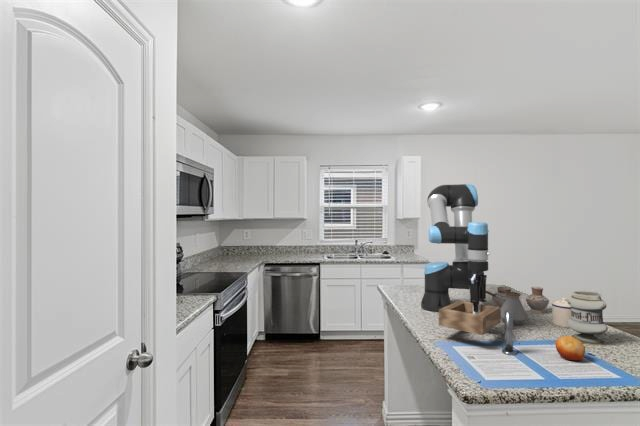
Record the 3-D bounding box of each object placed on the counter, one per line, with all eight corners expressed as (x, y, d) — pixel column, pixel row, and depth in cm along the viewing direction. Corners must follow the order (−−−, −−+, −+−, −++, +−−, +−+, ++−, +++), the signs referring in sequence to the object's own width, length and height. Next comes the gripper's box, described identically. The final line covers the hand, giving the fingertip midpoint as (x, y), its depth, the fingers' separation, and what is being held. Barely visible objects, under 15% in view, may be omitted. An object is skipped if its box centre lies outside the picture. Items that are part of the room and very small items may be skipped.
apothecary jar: (560, 334, 138) (560, 289, 138) (591, 335, 138) (591, 289, 138) (582, 346, 126) (581, 296, 126) (616, 346, 126) (616, 296, 126)
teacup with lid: (580, 329, 145) (579, 301, 145) (554, 326, 148) (553, 299, 148) (572, 321, 156) (572, 295, 156) (548, 319, 159) (548, 293, 159)
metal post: (500, 352, 120) (499, 312, 120) (504, 349, 123) (503, 309, 123) (514, 356, 117) (514, 314, 117) (517, 352, 120) (517, 311, 120)
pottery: (551, 316, 165) (551, 290, 165) (493, 310, 174) (492, 286, 174) (546, 310, 175) (546, 286, 175) (491, 305, 184) (490, 282, 184)
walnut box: (438, 325, 133) (438, 309, 133) (459, 314, 147) (459, 300, 147) (482, 335, 122) (482, 317, 122) (500, 322, 136) (500, 307, 136)
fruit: (577, 349, 119) (582, 332, 116) (585, 369, 113) (590, 352, 109) (550, 346, 122) (553, 330, 118) (556, 365, 116) (560, 349, 112)
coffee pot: (521, 319, 159) (521, 286, 159) (532, 327, 148) (532, 291, 148) (472, 316, 163) (472, 284, 163) (478, 324, 152) (478, 289, 152)
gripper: (480, 263, 132) (481, 325, 132) (494, 259, 144) (494, 316, 144) (460, 261, 138) (461, 321, 137) (475, 258, 149) (475, 313, 149)
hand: (478, 318), depth 140 cm, fingers closed on walnut box, 3 cm apart
